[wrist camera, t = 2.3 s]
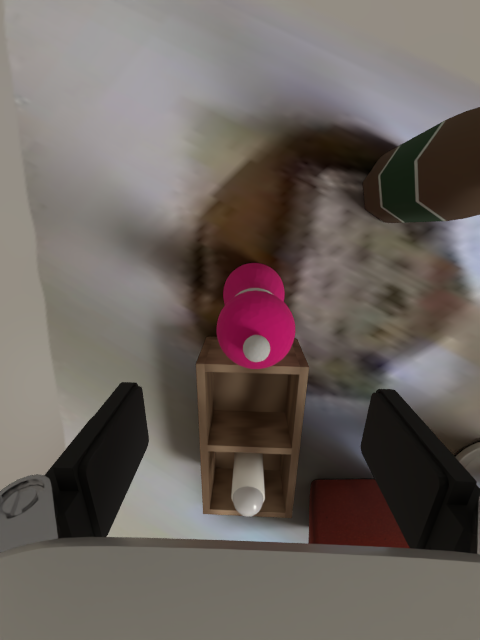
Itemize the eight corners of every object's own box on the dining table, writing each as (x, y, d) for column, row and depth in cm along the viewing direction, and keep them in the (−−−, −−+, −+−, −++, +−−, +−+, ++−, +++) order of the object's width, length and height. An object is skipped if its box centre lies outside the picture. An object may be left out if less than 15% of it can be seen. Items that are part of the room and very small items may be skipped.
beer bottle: (413, 227, 32) (816, 227, 9) (351, 218, 32) (602, 195, 9) (438, 154, 29) (1086, -96, 7) (370, 144, 29) (789, -146, 6)
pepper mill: (240, 249, 33) (227, 277, 15) (290, 273, 34) (339, 329, 15) (217, 298, 36) (182, 377, 17) (265, 320, 36) (281, 418, 18)
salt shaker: (262, 433, 42) (266, 501, 31) (261, 454, 43) (264, 526, 33) (235, 432, 42) (230, 499, 32) (235, 453, 43) (230, 524, 33)
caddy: (297, 339, 37) (309, 367, 30) (284, 470, 46) (291, 518, 38) (206, 336, 38) (195, 363, 30) (210, 466, 46) (203, 513, 38)
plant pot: (292, 464, 45) (315, 592, 29) (406, 462, 44) (493, 594, 28) (292, 537, 51) (311, 675, 36) (391, 537, 50) (456, 679, 35)
